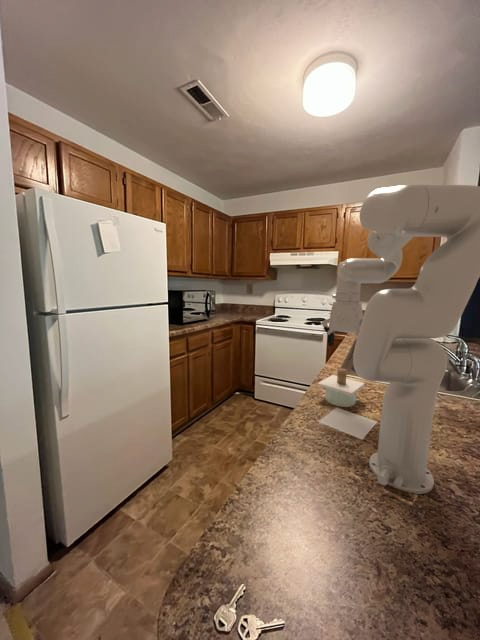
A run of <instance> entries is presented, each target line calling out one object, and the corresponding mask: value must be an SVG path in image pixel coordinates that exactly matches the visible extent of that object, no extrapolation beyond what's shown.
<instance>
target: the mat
mask: <svg viewBox="0 0 480 640" xmlns="http://www.w3.org/2000/svg"><path fill="white" fill-rule="evenodd" d="M317 422H318V423H320V424H321V425H325V426H327V427H330V428H331V429H334V430H337V431H340V432H342V433H344V434H347V435H349V436H352V437H355V438H357V439H360V440H364V439H365V437H366V436H367V435H368V434H369V433H370V432H371V430H372V429H373V428H374V426H376V424H378V420H377V421H376V420H373V419H371V418H368V417H366V416H362V415H360V414H357V413H353V412H351V411H348V410H344V409H341V408H339V407H338V406H336V407H335V408H334V409H332V410H331V411H329V413H327V414H326V415H324V417H322V418H321V419H320V420H318V421H317Z"/></svg>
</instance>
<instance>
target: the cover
mask: <svg viewBox="0 0 480 640" xmlns="http://www.w3.org/2000/svg"><path fill="white" fill-rule="evenodd" d="M347 373H348V370H347V369H346V368H341V367H340V368H338V369H337V375H335V374H332V375H330V376H328V377H326V378H324V379H322V380H321V381H318V382H317V386H318V387H321V388H324V389H326V388H327V389H330V390H333V391H336V392H340V393H343V394H346V395H350V396H352V395H354V394H355V393H356V392H357V393H358V392H359V391H360V390H361V389H363V388H364V387H366V383H365V382H362V381H358V380H354V379H350V378H347V375H348V374H347ZM357 393H356V394H357Z"/></svg>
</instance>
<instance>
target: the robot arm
mask: <svg viewBox="0 0 480 640" xmlns="http://www.w3.org/2000/svg"><path fill="white" fill-rule="evenodd" d="M359 222H360V224H361V227H362V228H363V229H365V230H366V231H369V234H368V235H367V238H366V239H367V240H366V242H367V243H366V244H367V247H368V249H369V250H370V252H371V253H372V254H374V255H375V256H377V257H378V258H374V257H373V258H371V257H370V258H369V257H368V258H364V257H361V258H360V257H359V258H358V257H355V258H354V257H353V258H347V259H344V261H341V262H339V263H338V265H337V275H336V289H335V290H336V291H335V294H332V299H335V301H333V302H332V305H331V310H330V313H329V314H330V316H329V318H327V319H325V320H322V321H321V324H322V325H321V326H322V327H323V330H324V331H325V332H326V335H327V343H328V344H327V345H328V347H333V346H334V345H335V332H341V333H349V334H355V336H356V342H355V345H354V350H353V355H352V361H353V363H352V364H353V369H354V371H355V372H356V375H358V377H359V378H361V379H363V380H365V381H369V382H380V383H381V382H384V383H386V382H387V383H389V384H388V385H387V387H386V389H385V391H384V392H383V398H382V404H381V415H380V424H379V433H378V436H379V437H378V445H377V451H376V452H374V453H372V454H371V455H370V457H369V458H368V464H369V468H370V470H371V471H372V473H373V474H374V475H375V476H376V477H377V482H378V483H379V484H380V485H381V486H387V485H389V486H391V487H393V488H395V489H398V490H400V491H403V492H406V493H407V492H408V493H413V494H415V495H422V494H423V495H424V494H428V493H429V492H432V490H433V489H434V486H435V479H434V475H433V474H432V472H431V471H430V470H429V469H428V468H427V467H428V459H429V452H430V445H431V436H432V429H433V422H434V415H435V409H436V402H437V396H438V393H439V389H440V386H441V383H442V382H443V381H442V380H443V379H444V375H445V373H446V370H447V367H448V356H447V353H446V352H447V351H445V349H444V347H443V346H442V345H441V344H440V343H439V342H437V341H436V340H434V339H440V338H444V337H447V336H449V335H450V334H451V333H452V332H453V331H454V329H456V326H457V325H458V323H459V321H460V319H461V317H462V315H463V313H464V311H465V309H466V306H467V305H468V303H469V300H470V298H471V296H472V295H473V292H474V290H475V288H476V286H477V283H478V280H479V279H480V185H479V186H478V185H470V184H469V185H468V184H466V185H465V184H403V185H395V186H387V187H380V188H379V187H378V188H376V189H375V190H373V191H371V192H370V193H369V194H368V195H367V196H366V198H364V201H363V203H362V205H361V208H360V211H359ZM417 237H418V238H422V237H425V238H437V237H438V238H443V237H444V238H446V239H447V240H446V241H445V242H443V243H442V244H440V246H439V247H436V249H435V250H433V252H431V254H430V255H429V256H428V257H427V258H426V259H425V261H424V262H423V264H422V265H421V267H420V270H419V274H418V276H417V278H416V281H415V283H414V284H413V286H412V287H409V288H387V289H381V290H379V291H377V292H376V293H375V294H373V295H372V296H371V298H369V300H368V301H367V304H366V306H365V309H364V311H363V305H362V303H361V302H360V301H361V299H360V298H361V289H362V288H361V286H362V284H382V283H385V282H388V280H390V279H391V278H392V277H394V275H395V274H396V273H397V272H398V271H399V269H400V268H401V265H402V263H403V256H404V255H403V253H404V252H403V248H404V247H405V246H406V245H407V244H408V243H409V242H410V241H412V239H413V238H417Z"/></svg>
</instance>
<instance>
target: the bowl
mask: <svg viewBox="0 0 480 640" xmlns="http://www.w3.org/2000/svg"><path fill="white" fill-rule="evenodd" d="M357 393H358V392H356V393H355V394H354V395H352V396H350V395H346V394H343V393H340V392H336V391H333V390H330V389H327V388H325V395H324V396H325V401H326V402H327V403H329V404H331V405H333V406H336V407H343V408H345V407H346V408H348V407H353V406H354V405H355V404H357V403H356V401H357Z"/></svg>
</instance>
